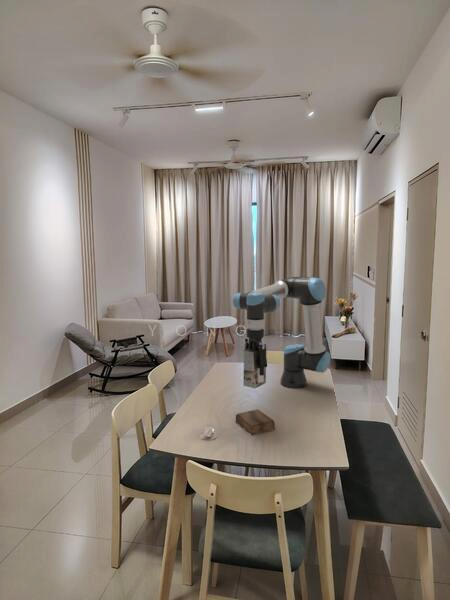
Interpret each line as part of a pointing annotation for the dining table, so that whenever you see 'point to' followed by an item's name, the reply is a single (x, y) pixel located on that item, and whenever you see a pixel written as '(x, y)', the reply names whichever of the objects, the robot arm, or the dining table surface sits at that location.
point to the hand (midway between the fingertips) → (255, 378)
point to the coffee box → (251, 369)
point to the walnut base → (255, 421)
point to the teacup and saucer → (209, 431)
